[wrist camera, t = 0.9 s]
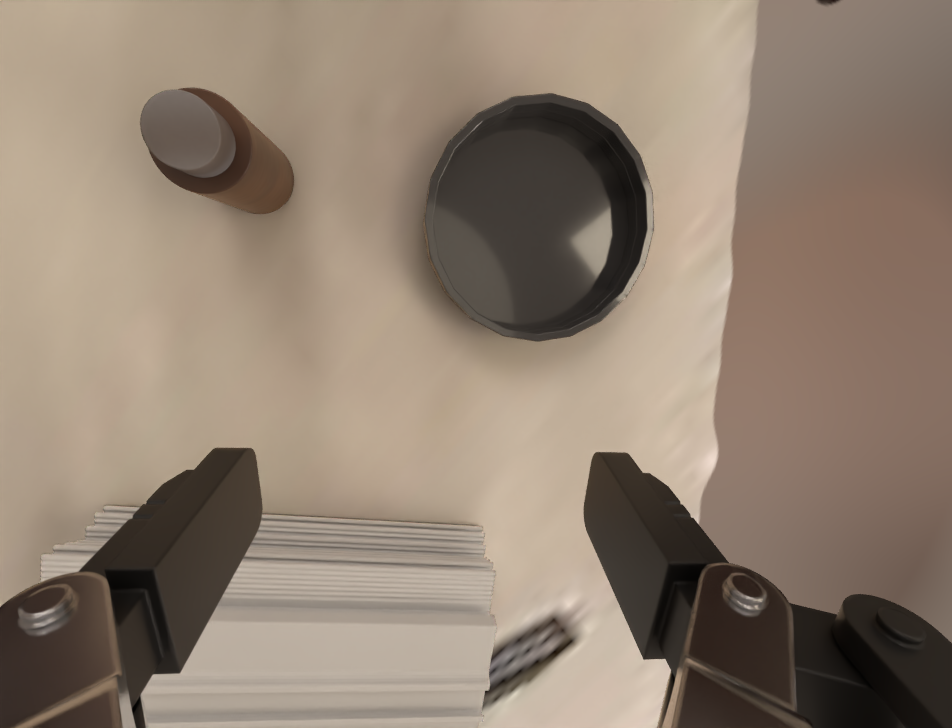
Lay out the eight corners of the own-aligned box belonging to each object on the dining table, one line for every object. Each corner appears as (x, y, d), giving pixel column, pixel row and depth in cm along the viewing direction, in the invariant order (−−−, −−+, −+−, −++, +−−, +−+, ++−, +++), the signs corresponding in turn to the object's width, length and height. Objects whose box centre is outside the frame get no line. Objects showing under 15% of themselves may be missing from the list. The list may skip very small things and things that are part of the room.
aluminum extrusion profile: (107, 503, 35) (-6, 591, 26) (482, 524, 41) (505, 604, 31) (108, 655, 38) (5, 787, 28) (459, 656, 43) (474, 767, 34)
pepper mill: (209, 141, 31) (105, 74, 21) (285, 134, 32) (223, 66, 21) (228, 218, 32) (139, 192, 22) (301, 209, 33) (249, 181, 22)
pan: (407, 122, 33) (407, 105, 29) (625, 102, 35) (649, 83, 31) (441, 348, 37) (444, 356, 33) (635, 318, 39) (657, 322, 35)
